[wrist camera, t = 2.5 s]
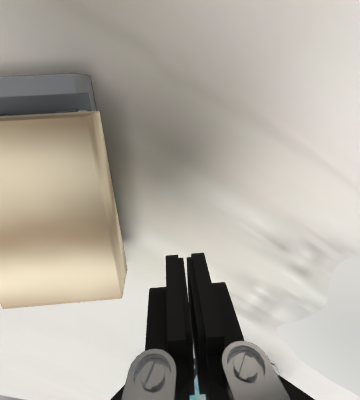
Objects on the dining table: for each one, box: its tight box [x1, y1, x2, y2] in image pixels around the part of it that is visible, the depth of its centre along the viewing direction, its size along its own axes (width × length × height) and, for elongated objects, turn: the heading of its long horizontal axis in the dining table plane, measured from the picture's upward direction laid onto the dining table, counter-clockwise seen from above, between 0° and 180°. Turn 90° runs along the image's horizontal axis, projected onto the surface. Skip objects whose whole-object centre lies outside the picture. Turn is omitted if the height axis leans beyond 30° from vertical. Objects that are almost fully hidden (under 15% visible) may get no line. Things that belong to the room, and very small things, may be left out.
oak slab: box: [0, 111, 127, 309], centre depth 15 cm, size 12×8×3 cm, turn 2°
